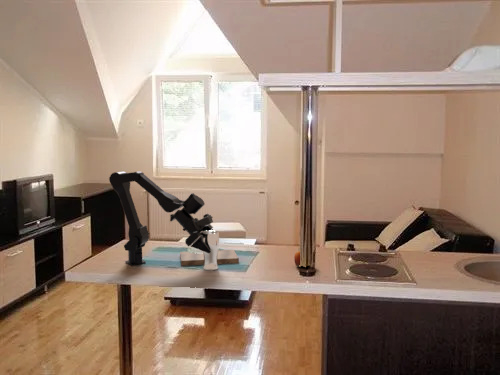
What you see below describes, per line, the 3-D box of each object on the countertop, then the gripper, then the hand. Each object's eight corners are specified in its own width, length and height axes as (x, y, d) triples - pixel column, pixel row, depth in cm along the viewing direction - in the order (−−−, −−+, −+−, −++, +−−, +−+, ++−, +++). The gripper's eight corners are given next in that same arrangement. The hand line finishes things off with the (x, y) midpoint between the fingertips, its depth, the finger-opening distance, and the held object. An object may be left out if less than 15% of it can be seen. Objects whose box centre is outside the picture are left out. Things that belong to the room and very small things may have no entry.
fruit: (290, 266, 192) (293, 247, 195) (294, 271, 198) (297, 253, 201) (309, 268, 189) (312, 249, 192) (313, 273, 195) (316, 255, 198)
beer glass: (216, 271, 189) (216, 234, 188) (199, 270, 191) (199, 233, 189) (221, 266, 196) (221, 230, 194) (204, 265, 198) (204, 229, 196)
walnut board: (181, 265, 197) (181, 260, 197) (180, 256, 212) (180, 251, 212) (238, 262, 202) (238, 258, 201) (233, 253, 216) (233, 249, 216)
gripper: (192, 212, 183) (220, 242, 181) (208, 205, 201) (233, 232, 199) (173, 231, 185) (200, 260, 184) (190, 222, 203) (215, 249, 202)
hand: (213, 249), depth 192 cm, fingers open, 9 cm apart
